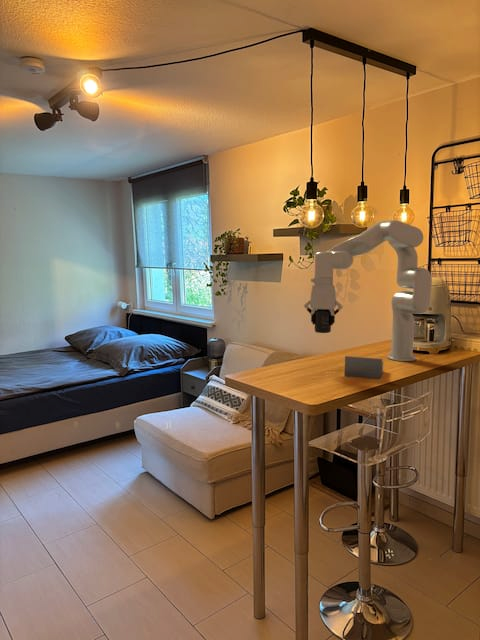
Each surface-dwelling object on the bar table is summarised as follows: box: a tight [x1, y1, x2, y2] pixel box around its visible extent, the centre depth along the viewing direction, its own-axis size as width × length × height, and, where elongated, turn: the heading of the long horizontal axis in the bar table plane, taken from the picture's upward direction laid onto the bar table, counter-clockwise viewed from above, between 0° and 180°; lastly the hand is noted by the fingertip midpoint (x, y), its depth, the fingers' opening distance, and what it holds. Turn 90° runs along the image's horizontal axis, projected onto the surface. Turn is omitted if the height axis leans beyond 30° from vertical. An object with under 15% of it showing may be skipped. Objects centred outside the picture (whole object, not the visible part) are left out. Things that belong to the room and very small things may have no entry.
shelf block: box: [344, 355, 384, 380], centre depth 189 cm, size 14×14×8 cm
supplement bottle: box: [314, 309, 332, 334], centre depth 194 cm, size 7×7×12 cm
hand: (322, 324), depth 195 cm, fingers closed on supplement bottle, 6 cm apart
